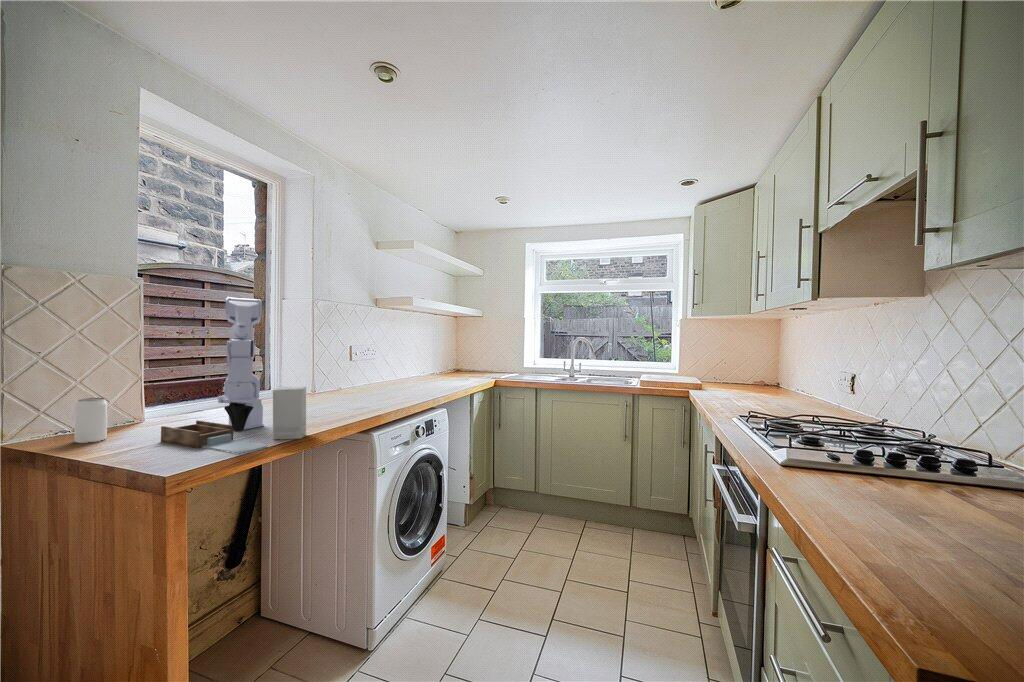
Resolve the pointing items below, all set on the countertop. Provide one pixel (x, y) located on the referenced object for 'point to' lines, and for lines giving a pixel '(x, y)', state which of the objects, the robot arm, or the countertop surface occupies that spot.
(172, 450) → the countertop surface
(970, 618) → the countertop surface
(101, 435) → the can
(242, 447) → the cover plate
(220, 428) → the walnut box
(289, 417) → the skincare box
